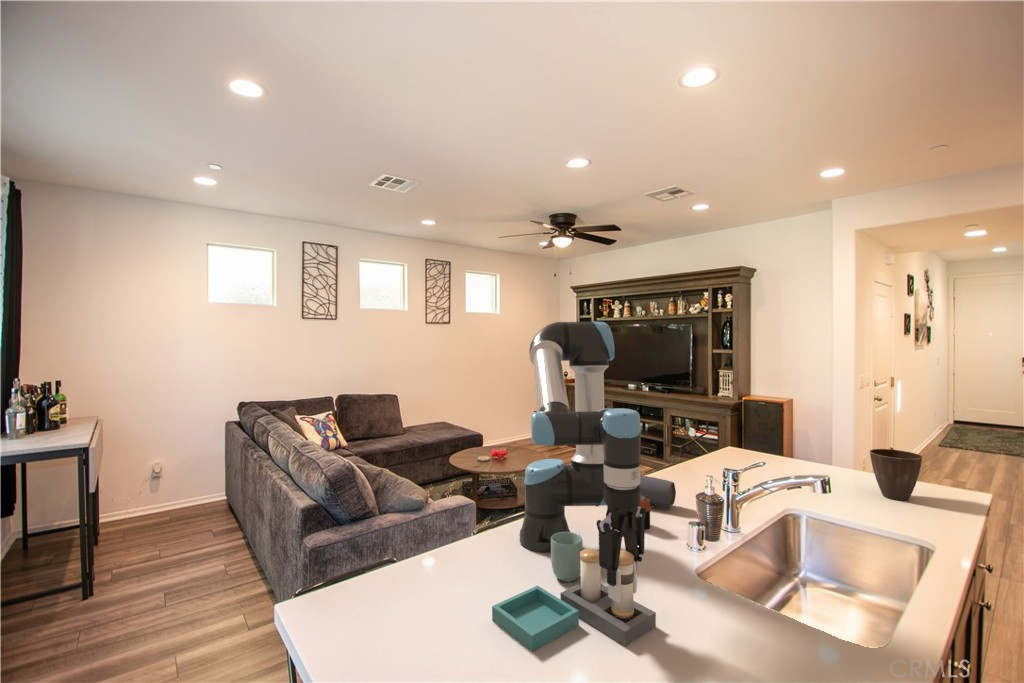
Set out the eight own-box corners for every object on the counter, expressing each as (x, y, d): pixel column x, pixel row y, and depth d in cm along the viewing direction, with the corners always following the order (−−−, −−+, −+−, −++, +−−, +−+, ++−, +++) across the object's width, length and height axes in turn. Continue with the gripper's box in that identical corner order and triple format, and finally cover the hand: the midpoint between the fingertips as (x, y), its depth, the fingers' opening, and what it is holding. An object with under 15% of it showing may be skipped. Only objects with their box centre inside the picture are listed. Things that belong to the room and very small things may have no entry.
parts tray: (492, 620, 102) (492, 606, 102) (537, 598, 110) (537, 585, 110) (532, 651, 92) (531, 635, 92) (578, 625, 100) (578, 610, 100)
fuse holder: (560, 606, 107) (560, 592, 107) (590, 590, 113) (590, 578, 113) (625, 646, 93) (625, 631, 93) (655, 626, 99) (655, 612, 99)
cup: (562, 588, 114) (562, 547, 114) (545, 574, 121) (545, 535, 121) (588, 580, 118) (588, 540, 118) (570, 567, 125) (570, 529, 125)
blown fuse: (606, 610, 100) (606, 554, 100) (620, 602, 103) (620, 548, 103) (624, 621, 97) (624, 563, 96) (638, 612, 100) (638, 556, 99)
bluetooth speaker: (605, 501, 173) (605, 473, 173) (615, 493, 181) (615, 467, 181) (668, 514, 160) (668, 484, 160) (676, 505, 168) (676, 477, 168)
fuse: (576, 606, 107) (575, 553, 107) (590, 598, 110) (589, 547, 110) (591, 615, 104) (591, 560, 103) (605, 607, 106) (605, 554, 106)
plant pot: (859, 491, 180) (859, 449, 180) (895, 489, 182) (895, 447, 181) (895, 505, 165) (895, 459, 165) (933, 503, 167) (934, 458, 167)
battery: (639, 521, 155) (638, 490, 154) (650, 529, 148) (650, 497, 148) (627, 522, 153) (626, 491, 153) (638, 531, 147) (638, 498, 147)
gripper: (608, 499, 91) (609, 619, 92) (662, 479, 102) (662, 587, 102) (579, 488, 97) (580, 601, 97) (633, 471, 108) (633, 573, 108)
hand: (622, 594), depth 100 cm, fingers closed on blown fuse, 4 cm apart
